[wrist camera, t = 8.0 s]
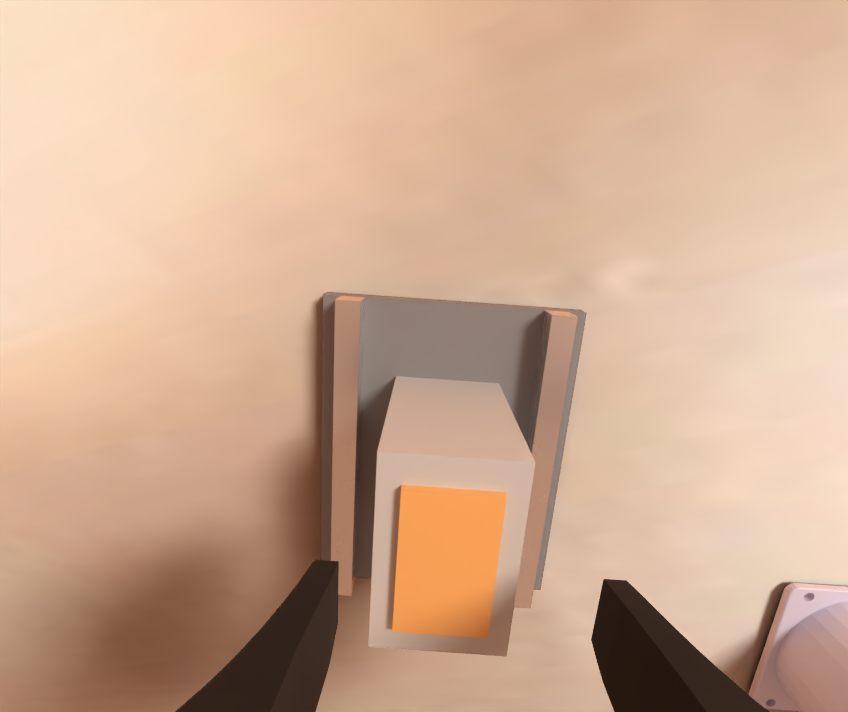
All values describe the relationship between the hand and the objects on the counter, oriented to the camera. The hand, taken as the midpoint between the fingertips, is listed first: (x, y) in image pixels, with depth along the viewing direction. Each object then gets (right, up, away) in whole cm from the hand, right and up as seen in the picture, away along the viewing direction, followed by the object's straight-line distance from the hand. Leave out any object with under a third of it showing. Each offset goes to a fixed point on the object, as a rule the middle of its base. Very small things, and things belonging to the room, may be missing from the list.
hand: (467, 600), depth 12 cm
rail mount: (0, +2, +9) cm, 9 cm away
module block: (0, +2, +8) cm, 9 cm away
